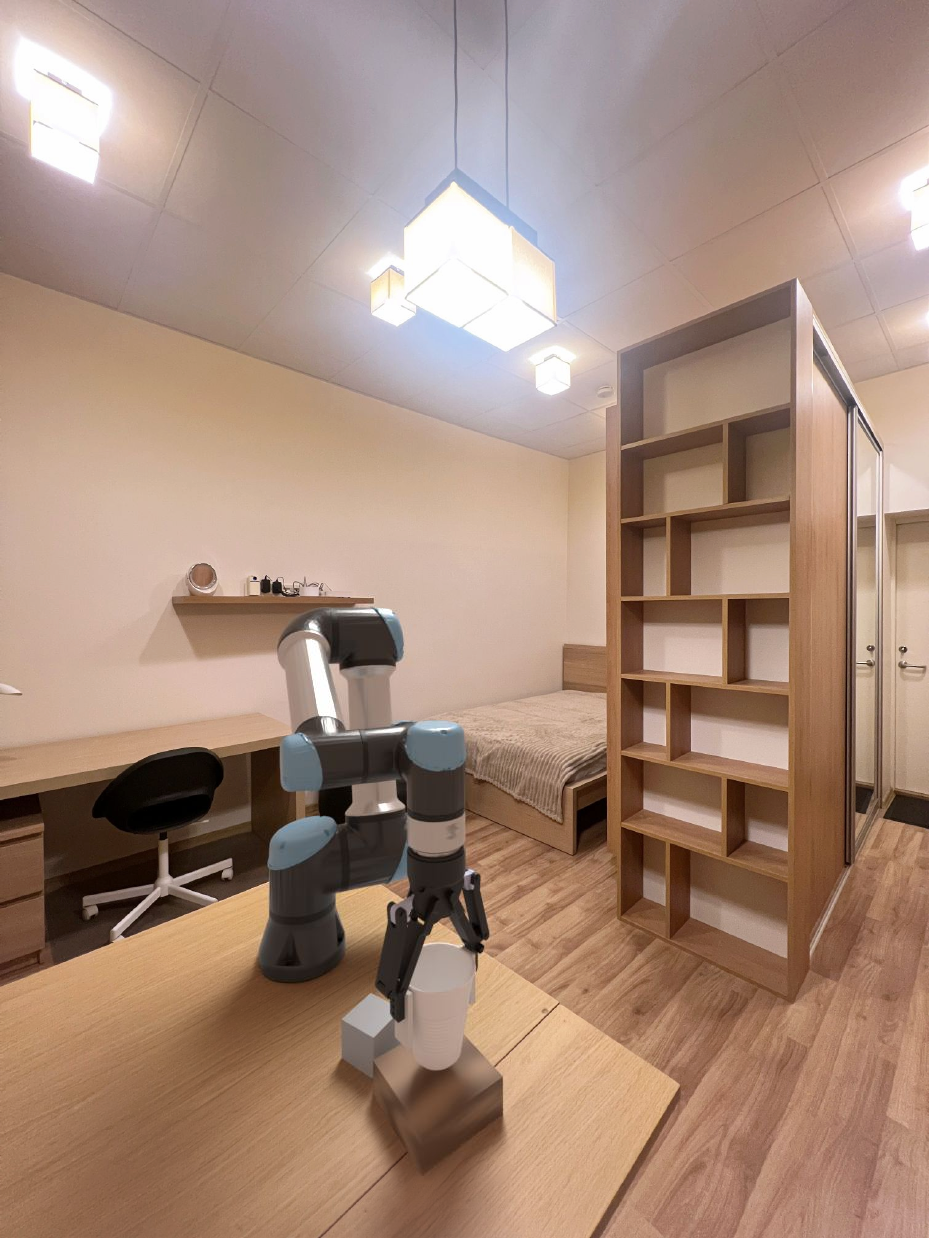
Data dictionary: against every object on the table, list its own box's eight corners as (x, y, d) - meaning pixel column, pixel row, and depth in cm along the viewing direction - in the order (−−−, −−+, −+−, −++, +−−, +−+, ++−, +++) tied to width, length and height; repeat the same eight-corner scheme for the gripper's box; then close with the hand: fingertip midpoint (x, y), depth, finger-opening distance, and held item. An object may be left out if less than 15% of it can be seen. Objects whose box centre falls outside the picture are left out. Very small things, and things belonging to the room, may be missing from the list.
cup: (467, 1094, 60) (467, 999, 60) (386, 1078, 62) (387, 987, 62) (481, 1028, 70) (482, 946, 70) (411, 1016, 72) (411, 937, 72)
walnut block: (373, 1098, 67) (373, 1060, 67) (448, 1051, 74) (448, 1017, 74) (422, 1178, 58) (422, 1133, 58) (503, 1116, 65) (503, 1076, 65)
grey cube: (341, 1061, 72) (341, 1019, 72) (370, 1032, 78) (370, 992, 78) (373, 1082, 69) (373, 1037, 69) (401, 1050, 74) (401, 1008, 74)
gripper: (379, 886, 56) (379, 1093, 56) (516, 828, 71) (516, 991, 71) (343, 862, 61) (344, 1050, 61) (478, 813, 76) (478, 964, 76)
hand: (436, 1018), depth 66 cm, fingers closed on cup, 10 cm apart
